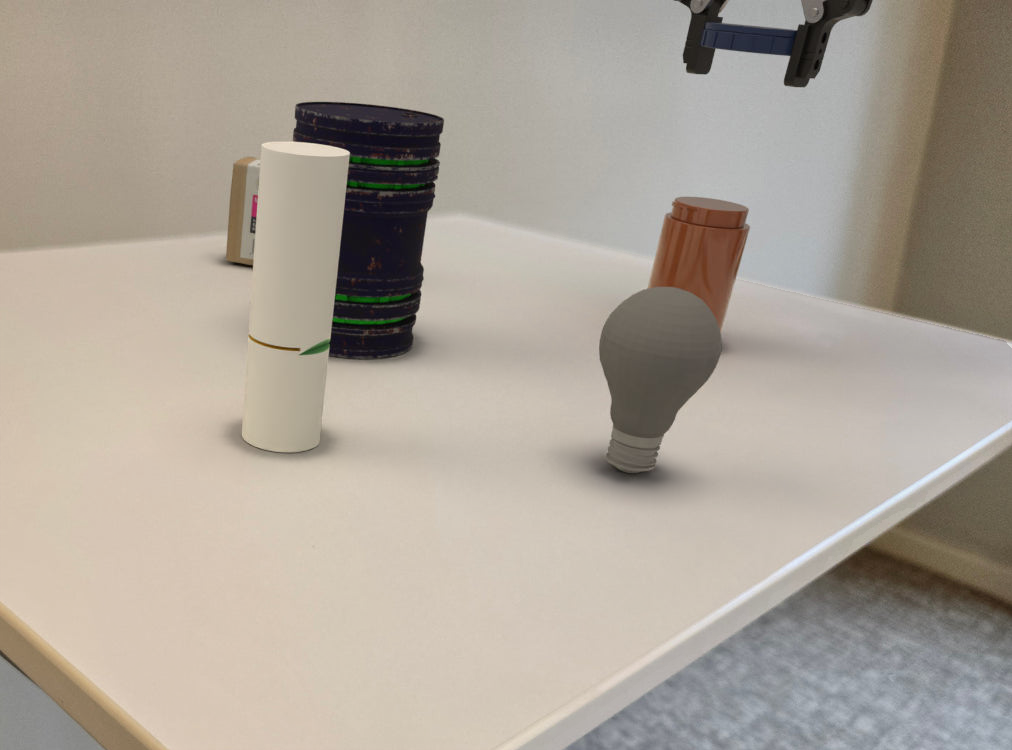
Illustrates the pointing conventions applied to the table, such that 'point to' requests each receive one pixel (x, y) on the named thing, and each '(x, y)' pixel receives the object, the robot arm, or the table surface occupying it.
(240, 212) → the ink box
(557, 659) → the table surface
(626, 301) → the light bulb
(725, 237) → the jar
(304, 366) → the tube
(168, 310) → the table surface
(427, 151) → the storage jar
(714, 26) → the jar lid
